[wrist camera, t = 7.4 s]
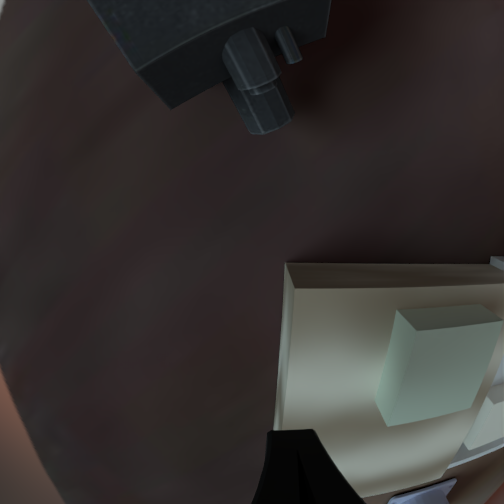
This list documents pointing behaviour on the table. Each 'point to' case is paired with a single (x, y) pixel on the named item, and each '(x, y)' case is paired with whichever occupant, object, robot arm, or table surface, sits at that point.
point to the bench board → (371, 364)
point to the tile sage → (435, 361)
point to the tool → (216, 48)
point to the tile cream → (488, 420)
